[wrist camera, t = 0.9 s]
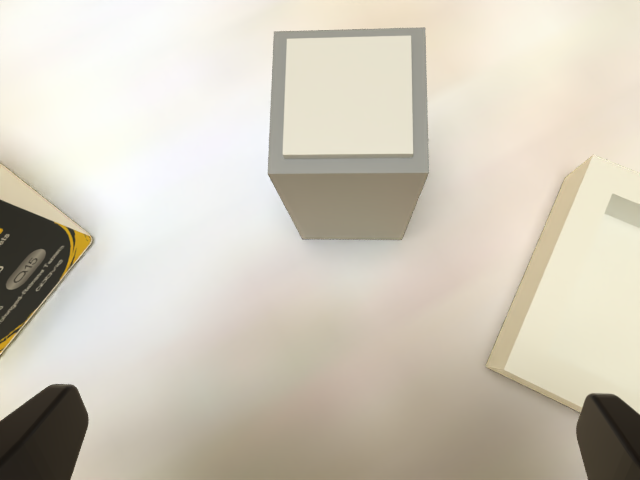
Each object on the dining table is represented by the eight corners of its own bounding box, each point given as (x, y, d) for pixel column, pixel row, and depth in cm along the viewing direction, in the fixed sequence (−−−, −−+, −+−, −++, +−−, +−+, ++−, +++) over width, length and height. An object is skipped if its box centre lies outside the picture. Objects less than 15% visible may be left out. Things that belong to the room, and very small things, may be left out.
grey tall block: (401, 239, 23) (430, 169, 14) (302, 239, 23) (265, 170, 14) (400, 145, 24) (426, 21, 15) (305, 146, 24) (272, 25, 15)
